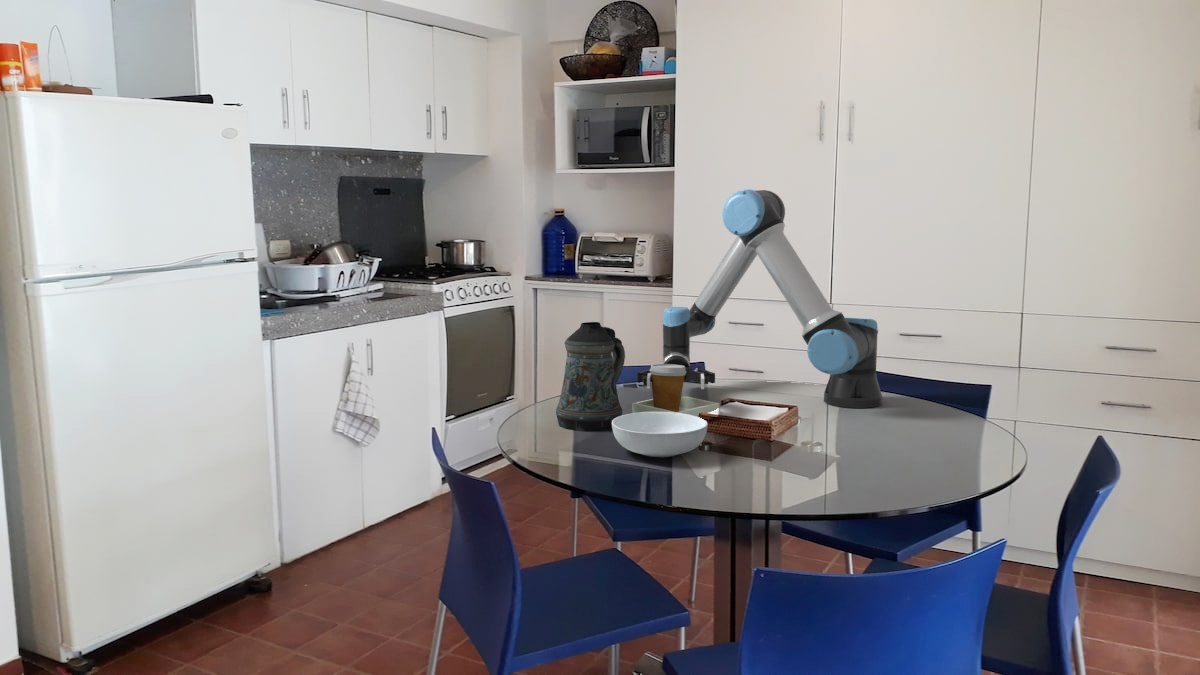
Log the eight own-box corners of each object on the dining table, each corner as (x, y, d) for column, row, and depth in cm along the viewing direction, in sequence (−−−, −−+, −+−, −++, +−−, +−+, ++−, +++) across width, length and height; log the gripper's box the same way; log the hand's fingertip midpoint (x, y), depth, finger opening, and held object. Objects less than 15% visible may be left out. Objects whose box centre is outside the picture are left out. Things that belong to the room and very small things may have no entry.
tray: (719, 416, 226) (719, 403, 226) (676, 427, 216) (676, 413, 216) (674, 406, 238) (674, 394, 237) (632, 416, 228) (632, 403, 227)
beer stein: (547, 429, 216) (544, 327, 212) (571, 411, 234) (569, 317, 230) (613, 433, 211) (612, 329, 208) (632, 414, 230) (631, 318, 226)
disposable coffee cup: (685, 410, 232) (687, 364, 231) (683, 416, 222) (685, 368, 222) (649, 408, 233) (651, 363, 232) (646, 414, 224) (647, 366, 223)
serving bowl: (719, 462, 187) (719, 430, 186) (621, 468, 183) (621, 435, 182) (693, 437, 207) (693, 408, 206) (604, 442, 204) (604, 412, 203)
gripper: (721, 382, 244) (725, 398, 223) (630, 381, 246) (626, 398, 225) (722, 355, 242) (725, 369, 222) (630, 354, 245) (625, 368, 224)
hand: (675, 383), depth 223 cm, fingers open, 13 cm apart
